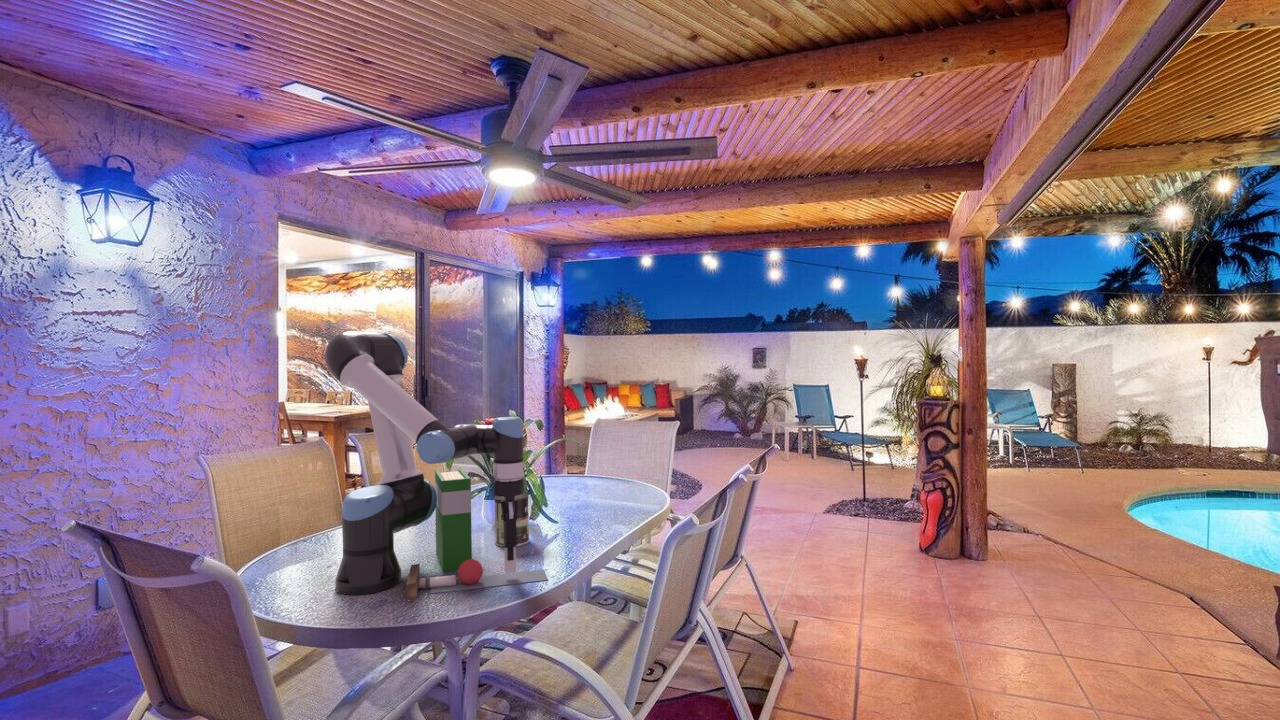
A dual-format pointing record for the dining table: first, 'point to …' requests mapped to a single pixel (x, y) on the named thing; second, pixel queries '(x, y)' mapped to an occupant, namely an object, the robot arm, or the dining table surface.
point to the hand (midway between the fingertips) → (510, 571)
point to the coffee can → (521, 520)
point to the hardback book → (453, 519)
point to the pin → (437, 581)
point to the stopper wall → (413, 582)
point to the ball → (470, 572)
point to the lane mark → (496, 581)
